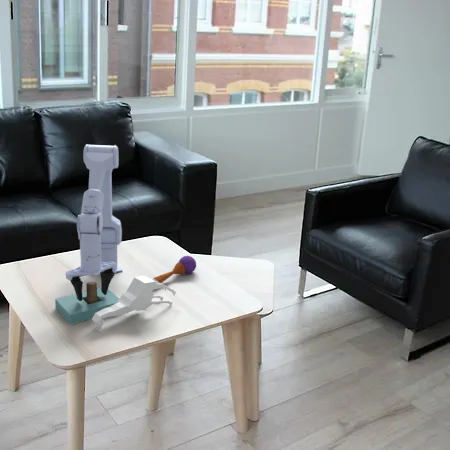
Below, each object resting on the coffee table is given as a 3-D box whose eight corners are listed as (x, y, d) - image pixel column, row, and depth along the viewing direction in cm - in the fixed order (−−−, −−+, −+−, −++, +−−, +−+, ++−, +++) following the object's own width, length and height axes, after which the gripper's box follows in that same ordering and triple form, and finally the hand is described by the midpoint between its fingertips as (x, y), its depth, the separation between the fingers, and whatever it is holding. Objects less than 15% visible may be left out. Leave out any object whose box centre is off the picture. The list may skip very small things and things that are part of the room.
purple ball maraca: (142, 274, 199) (185, 252, 213) (145, 291, 201) (188, 268, 215) (155, 277, 196) (198, 254, 210) (158, 294, 197) (201, 270, 211)
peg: (85, 307, 186) (84, 282, 183) (94, 305, 187) (94, 280, 184) (89, 311, 183) (88, 287, 181) (99, 309, 185) (98, 284, 182)
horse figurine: (151, 328, 193) (85, 326, 175) (168, 278, 192) (103, 270, 173) (161, 335, 190) (95, 333, 171) (179, 284, 189) (114, 276, 170)
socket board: (55, 307, 184) (55, 298, 183) (106, 295, 193) (105, 286, 192) (70, 324, 176) (70, 315, 175) (122, 310, 185) (122, 301, 184)
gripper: (72, 264, 172) (73, 308, 177) (120, 253, 180) (120, 296, 185) (62, 254, 177) (64, 297, 182) (109, 244, 185) (110, 286, 190)
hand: (92, 296), depth 184 cm, fingers open, 7 cm apart
